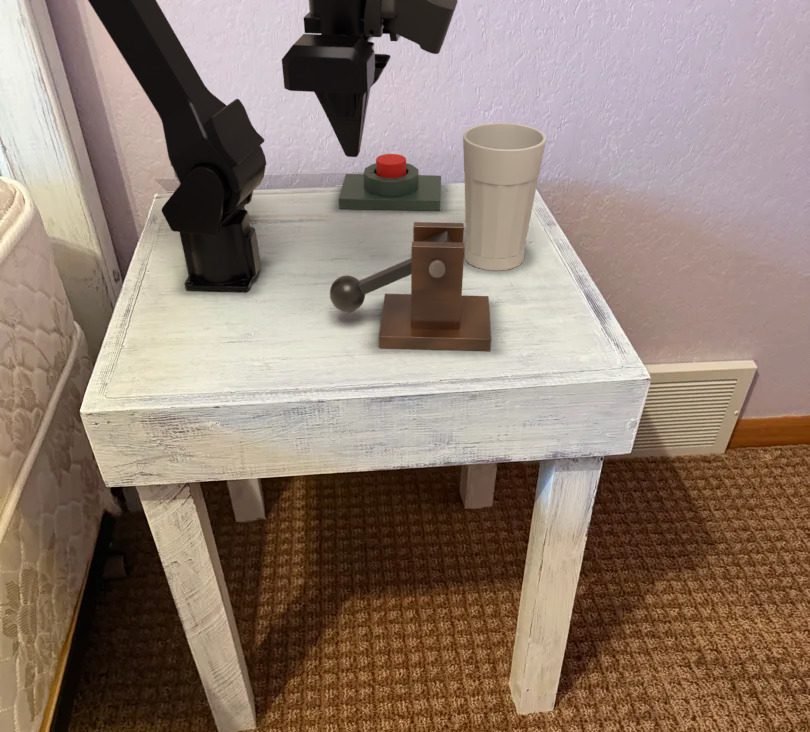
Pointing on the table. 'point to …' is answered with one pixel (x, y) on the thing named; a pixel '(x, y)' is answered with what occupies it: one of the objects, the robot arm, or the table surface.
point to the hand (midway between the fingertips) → (352, 155)
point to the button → (391, 166)
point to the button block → (391, 191)
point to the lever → (371, 282)
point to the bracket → (436, 299)
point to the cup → (499, 191)
